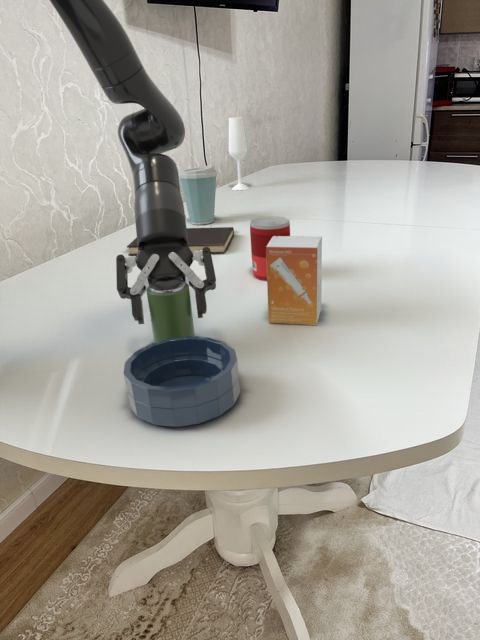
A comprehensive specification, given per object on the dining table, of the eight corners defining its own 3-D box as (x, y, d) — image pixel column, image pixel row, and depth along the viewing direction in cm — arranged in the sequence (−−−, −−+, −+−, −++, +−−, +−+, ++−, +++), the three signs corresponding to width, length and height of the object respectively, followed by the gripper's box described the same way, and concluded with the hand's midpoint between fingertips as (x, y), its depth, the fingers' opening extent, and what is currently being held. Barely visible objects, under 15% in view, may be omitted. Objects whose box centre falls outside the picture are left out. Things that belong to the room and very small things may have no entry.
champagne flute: (240, 190, 188) (235, 118, 177) (227, 189, 193) (222, 118, 182) (253, 187, 193) (249, 116, 182) (240, 186, 197) (235, 116, 186)
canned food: (279, 283, 102) (277, 227, 97) (245, 277, 106) (241, 223, 101) (298, 271, 108) (297, 218, 103) (264, 266, 111) (262, 214, 106)
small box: (268, 324, 85) (264, 246, 79) (275, 308, 91) (272, 234, 85) (317, 326, 84) (318, 246, 78) (322, 310, 89) (322, 235, 83)
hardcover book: (224, 253, 121) (224, 244, 120) (128, 255, 123) (126, 246, 122) (234, 235, 135) (233, 226, 134) (147, 237, 137) (146, 228, 136)
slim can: (155, 361, 76) (144, 293, 71) (156, 343, 81) (146, 279, 76) (197, 356, 77) (189, 289, 72) (195, 339, 82) (187, 275, 77)
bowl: (128, 437, 60) (119, 397, 57) (134, 378, 72) (127, 342, 69) (246, 421, 61) (243, 381, 59) (232, 366, 73) (229, 331, 71)
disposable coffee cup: (181, 227, 144) (175, 171, 138) (185, 218, 154) (179, 165, 147) (220, 225, 145) (215, 169, 138) (221, 216, 154) (217, 163, 147)
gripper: (108, 210, 75) (115, 314, 70) (207, 202, 77) (220, 303, 72) (117, 237, 82) (124, 333, 78) (207, 229, 84) (220, 323, 79)
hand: (171, 319), depth 75 cm, fingers open, 8 cm apart
